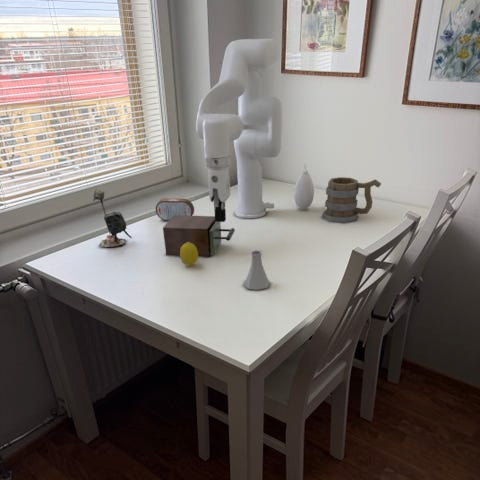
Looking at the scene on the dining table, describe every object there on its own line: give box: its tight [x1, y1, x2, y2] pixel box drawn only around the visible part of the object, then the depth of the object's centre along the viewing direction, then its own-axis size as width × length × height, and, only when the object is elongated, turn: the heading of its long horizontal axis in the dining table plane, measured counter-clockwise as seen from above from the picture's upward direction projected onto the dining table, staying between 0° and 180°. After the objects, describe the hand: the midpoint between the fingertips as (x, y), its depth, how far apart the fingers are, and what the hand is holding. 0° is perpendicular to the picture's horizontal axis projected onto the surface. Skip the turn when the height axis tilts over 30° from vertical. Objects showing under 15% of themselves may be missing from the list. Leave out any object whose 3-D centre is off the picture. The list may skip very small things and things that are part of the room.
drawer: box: [208, 222, 235, 255], centre depth 154 cm, size 19×11×8 cm, turn 80°
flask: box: [244, 249, 270, 291], centre depth 130 cm, size 7×7×10 cm
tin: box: [155, 197, 195, 222], centre depth 180 cm, size 15×3×8 cm, turn 84°
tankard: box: [322, 176, 382, 224], centre depth 174 cm, size 20×13×15 cm, turn 68°
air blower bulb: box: [293, 163, 315, 211], centre depth 184 cm, size 8×8×18 cm
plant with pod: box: [92, 188, 133, 248], centre depth 158 cm, size 8×11×20 cm
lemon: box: [179, 242, 199, 267], centre depth 143 cm, size 6×6×8 cm
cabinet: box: [162, 215, 216, 258], centre depth 154 cm, size 15×12×10 cm
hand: (220, 220), depth 149 cm, fingers closed
